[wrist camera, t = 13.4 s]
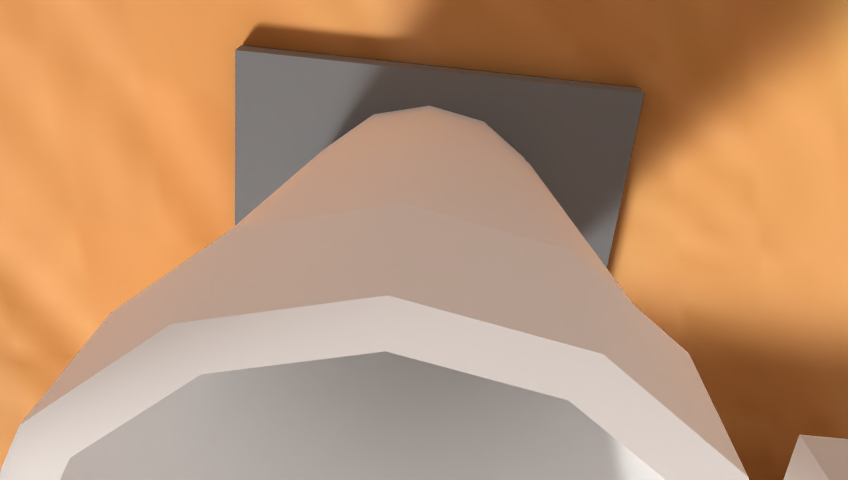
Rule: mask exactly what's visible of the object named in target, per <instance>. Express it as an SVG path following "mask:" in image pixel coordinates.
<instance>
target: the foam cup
mask: <svg viewBox="0 0 848 480" xmlns="http://www.w3.org/2000/svg"><path fill="white" fill-rule="evenodd" d="M0 480H749V478H748V475H747V473H746V471H745V469H744V467H743V465H742V463H741V461H740V459H739V457H738V455H737V453H736V450H735V448H734V446H733V444H732V442H731V440H730V438H729V436H728V434H727V432H726V430H725V428H724V425H723V423H722V421H721V419H720V417H719V415H718V413H717V411H716V409H715V407H714V405H713V403H712V401H711V398H710V396H709V394H708V392H707V390H706V388H705V386H704V384H703V382H702V380H701V378H700V376H699V373H698V371H697V369H696V367H695V365H694V363H693V361H692V359H691V357H690V355H689V353H688V352H687V351H686V350H684V349H683V348H682V347H681V346H680V345H679V344H678V343H677V342H675V341H674V340H673V339H672V338H671V337H670V336H669V335H667V334H666V333H665V332H664V331H663V330H662V329H661V328H660V327H658V326H657V325H656V324H655V323H654V322H653V321H652V320H650V319H649V318H648V317H647V316H646V315H645V314H644V313H642V312H641V311H640V310H639V309H638V308H637V307H636V306H635V305H633V303H632V302H631V301H630V299H629V298H628V296H627V295H626V294H625V292H624V291H623V290H622V288H621V287H620V286H619V284H618V283H617V282H616V280H615V279H614V278H613V276H612V275H611V273H610V272H609V271H608V269H607V268H606V267H605V265H604V264H603V263H602V261H601V260H600V259H599V257H598V256H597V254H596V253H595V252H594V250H593V249H592V248H591V246H590V245H589V244H588V242H587V241H586V240H585V238H584V237H583V236H582V234H581V233H580V231H579V230H578V229H577V227H576V226H575V225H574V223H573V222H572V221H571V219H570V218H569V217H568V215H567V214H566V212H565V211H564V210H563V208H562V207H561V206H560V204H559V203H558V202H557V200H556V199H555V198H554V196H553V195H552V194H551V192H550V191H549V189H548V188H547V187H546V185H545V184H544V183H543V181H542V180H541V179H540V177H539V176H538V175H537V173H536V172H535V171H534V169H533V168H532V166H531V165H530V164H529V163H528V162H527V161H526V160H525V158H524V157H523V156H522V155H521V154H519V153H518V152H517V151H516V150H515V149H514V148H513V147H512V146H511V145H509V144H508V143H507V142H506V141H505V140H504V139H503V138H502V137H501V136H499V135H498V134H497V133H496V132H495V131H494V130H493V129H492V128H491V127H490V126H488V125H487V124H486V123H485V122H484V121H481V120H477V119H474V118H470V117H467V116H464V115H460V114H457V113H453V112H450V111H446V110H443V109H440V108H436V107H433V106H423V107H417V108H410V109H404V110H398V111H391V112H385V113H379V114H373V115H372V116H370V117H369V118H368V119H366V120H365V121H363V122H362V123H360V124H359V125H358V126H356V127H355V128H353V129H352V130H350V131H349V132H348V133H346V134H345V135H343V136H342V137H340V138H339V139H338V140H336V141H335V142H333V143H332V144H330V145H329V146H328V147H327V148H325V149H324V150H322V151H321V152H320V153H319V154H318V155H316V156H315V157H314V158H313V159H312V160H311V161H310V162H308V163H307V164H306V165H305V166H304V167H303V168H301V169H300V170H299V171H298V172H297V173H296V174H294V175H293V176H292V177H291V178H290V179H289V180H288V181H286V182H285V183H284V184H283V185H282V186H281V187H279V188H278V189H277V190H276V191H275V192H274V193H272V194H271V195H270V196H269V197H268V198H267V199H266V200H264V201H263V202H262V203H261V204H260V205H259V206H257V207H256V208H255V209H254V210H253V211H252V212H250V213H249V214H248V215H247V216H246V217H245V218H243V219H242V220H241V221H240V222H239V223H238V224H237V225H235V226H234V227H233V228H232V229H231V230H230V231H228V232H227V233H226V234H224V235H223V236H221V237H220V238H218V239H217V240H215V241H214V242H213V243H211V244H210V245H208V246H207V247H205V248H204V249H202V250H201V251H200V252H198V253H197V254H195V255H194V256H192V257H191V258H189V259H188V260H187V261H185V262H184V263H182V264H181V265H179V266H178V267H176V268H175V269H174V270H172V271H171V272H169V273H168V274H166V275H165V276H163V277H162V278H161V279H159V280H158V281H156V282H155V283H153V284H152V285H150V286H149V287H148V288H146V289H145V290H143V291H142V292H140V293H139V294H137V295H136V296H135V297H133V298H132V299H130V300H129V301H127V302H126V303H124V304H123V305H121V306H120V307H119V308H117V309H116V310H114V311H113V312H111V313H110V314H109V316H108V317H107V318H106V319H105V321H104V322H103V323H102V324H101V325H100V327H99V328H98V329H97V330H96V332H95V333H94V334H93V335H92V337H91V338H90V339H89V340H88V341H87V343H86V344H85V345H84V346H83V348H82V349H81V350H80V351H79V353H78V354H77V355H76V356H75V357H74V359H73V360H72V361H71V362H70V364H69V365H68V366H67V367H66V369H65V370H64V371H63V372H62V373H61V375H60V376H59V377H58V378H57V380H56V381H55V382H54V383H53V384H52V386H51V387H50V388H49V389H48V391H47V392H46V393H45V394H44V396H43V397H42V398H41V399H40V400H39V402H38V403H37V404H36V405H35V407H34V408H33V409H32V410H31V412H30V413H29V414H28V415H27V416H26V418H25V419H24V420H23V421H22V423H21V424H20V425H19V428H18V430H17V433H16V435H15V437H14V440H13V442H12V445H11V447H10V449H9V452H8V454H7V457H6V459H5V461H4V464H3V466H2V469H1V471H0Z"/></svg>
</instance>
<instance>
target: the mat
mask: <svg viewBox="0 0 848 480" xmlns="http://www.w3.org/2000/svg"><path fill="white" fill-rule="evenodd" d="M643 98H644V93H643V92H642V90H641V89H640V88H637V87H627V86H618V85H609V84H599V83H590V82H580V81H571V80H562V79H552V78H543V77H534V76H524V75H515V74H505V73H496V72H487V71H477V70H468V69H459V68H449V67H440V66H430V65H421V64H412V63H402V62H393V61H384V60H374V59H365V58H356V57H346V56H337V55H327V54H318V53H309V52H299V51H290V50H281V49H271V48H262V47H252V46H243V45H241V46H240V47H239V48H237V49H236V50H235V225H237V224H238V223H239V222H240V221H241V220H242V219H243V218H245V217H246V216H247V215H248V214H249V213H250V212H252V211H253V210H254V209H255V208H256V207H257V206H259V205H260V204H261V203H262V202H263V201H264V200H266V199H267V198H268V197H269V196H270V195H271V194H272V193H274V192H275V191H276V190H277V189H278V188H279V187H281V186H282V185H283V184H284V183H285V182H286V181H288V180H289V179H290V178H291V177H292V176H293V175H294V174H296V173H297V172H298V171H299V170H300V169H301V168H303V167H304V166H305V165H306V164H307V163H308V162H310V161H311V160H312V159H313V158H314V157H315V156H316V155H318V154H319V153H320V152H321V151H322V150H324V149H325V148H327V147H328V146H329V145H330V144H332V143H333V142H335V141H336V140H338V139H339V138H340V137H342V136H343V135H345V134H346V133H348V132H349V131H350V130H352V129H353V128H355V127H356V126H358V125H359V124H360V123H362V122H363V121H365V120H366V119H368V118H369V117H370V116H372V115H373V114H379V113H385V112H391V111H398V110H404V109H410V108H417V107H423V106H433V107H436V108H440V109H443V110H446V111H450V112H453V113H457V114H460V115H464V116H467V117H470V118H474V119H477V120H481V121H484V122H485V123H486V124H487V125H488V126H490V127H491V128H492V129H493V130H494V131H495V132H496V133H497V134H498V135H499V136H501V137H502V138H503V139H504V140H505V141H506V142H507V143H508V144H509V145H511V146H512V147H513V148H514V149H515V150H516V151H517V152H518V153H519V154H521V155H522V156H523V157H524V158H525V160H526V161H527V162H528V163H529V164H530V165H531V166H532V168H533V169H534V171H535V172H536V173H537V175H538V176H539V177H540V179H541V180H542V181H543V183H544V184H545V185H546V187H547V188H548V189H549V191H550V192H551V194H552V195H553V196H554V198H555V199H556V200H557V202H558V203H559V204H560V206H561V207H562V208H563V210H564V211H565V212H566V214H567V215H568V217H569V218H570V219H571V221H572V222H573V223H574V225H575V226H576V227H577V229H578V230H579V231H580V233H581V234H582V236H583V237H584V238H585V240H586V241H587V242H588V244H589V245H590V246H591V248H592V249H593V250H594V252H595V253H596V254H597V256H598V257H599V259H600V260H601V261H602V263H603V264H604V265H605V267H606V268H607V265H608V260H609V256H610V251H611V246H612V242H613V237H614V232H615V228H616V223H617V218H618V214H619V209H620V205H621V200H622V195H623V191H624V186H625V181H626V177H627V172H628V167H629V163H630V158H631V153H632V149H633V144H634V140H635V135H636V130H637V126H638V121H639V116H640V112H641V107H642V102H643Z"/></svg>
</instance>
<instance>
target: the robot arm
mask: <svg viewBox="0 0 848 480" xmlns="http://www.w3.org/2000/svg"><path fill="white" fill-rule="evenodd" d="M783 480H848V439H844V438H833V437H822V436H811V435H800V434H799V437H798V440H797V443H796V445H795V448H794V451H793V454H792V457H791V460H790V462H789V465H788V468H787V471H786V474H785V477H784V479H783Z"/></svg>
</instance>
